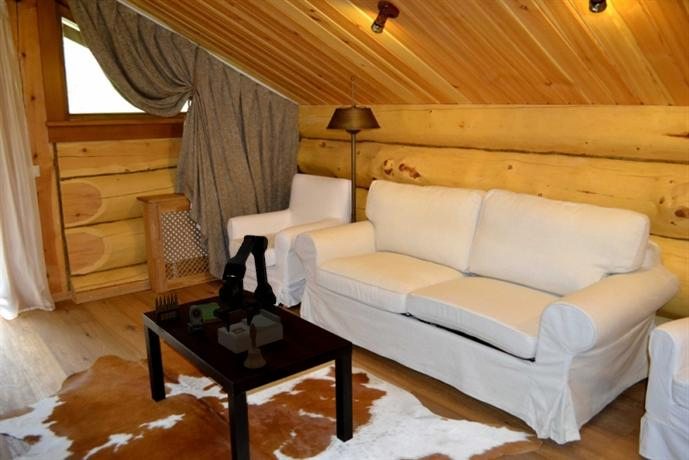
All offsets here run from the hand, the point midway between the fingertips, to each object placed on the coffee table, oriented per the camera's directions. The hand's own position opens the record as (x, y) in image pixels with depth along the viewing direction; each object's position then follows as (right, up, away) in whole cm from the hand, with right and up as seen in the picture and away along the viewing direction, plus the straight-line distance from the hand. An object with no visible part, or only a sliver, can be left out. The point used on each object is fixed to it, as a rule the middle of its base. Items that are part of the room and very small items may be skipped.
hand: (238, 329), depth 231 cm
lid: (+8, +1, +7) cm, 11 cm away
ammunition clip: (-37, -1, +27) cm, 46 cm away
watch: (-21, -4, +16) cm, 27 cm away
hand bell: (+9, -10, -15) cm, 21 cm away
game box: (-19, 0, +35) cm, 39 cm away
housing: (+4, -6, +5) cm, 9 cm away
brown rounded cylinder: (0, -6, +1) cm, 7 cm away
